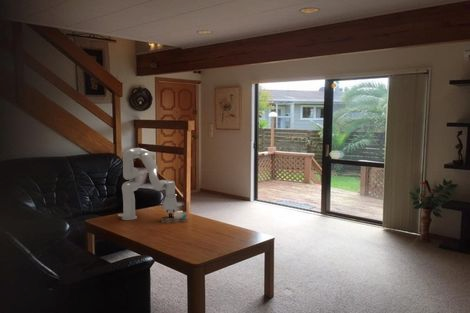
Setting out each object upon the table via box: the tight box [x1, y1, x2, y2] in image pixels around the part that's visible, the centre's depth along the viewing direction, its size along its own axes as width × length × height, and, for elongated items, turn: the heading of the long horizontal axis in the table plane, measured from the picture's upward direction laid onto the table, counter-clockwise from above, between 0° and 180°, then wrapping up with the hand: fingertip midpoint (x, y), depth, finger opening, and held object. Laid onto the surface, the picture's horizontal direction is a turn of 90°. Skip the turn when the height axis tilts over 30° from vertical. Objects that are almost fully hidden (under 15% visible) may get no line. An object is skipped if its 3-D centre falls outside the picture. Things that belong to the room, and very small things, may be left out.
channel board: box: [161, 212, 188, 224], centre depth 320 cm, size 20×12×6 cm, turn 100°
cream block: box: [173, 210, 184, 218], centre depth 321 cm, size 7×4×6 cm, turn 100°
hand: (170, 217), depth 320 cm, fingers closed
